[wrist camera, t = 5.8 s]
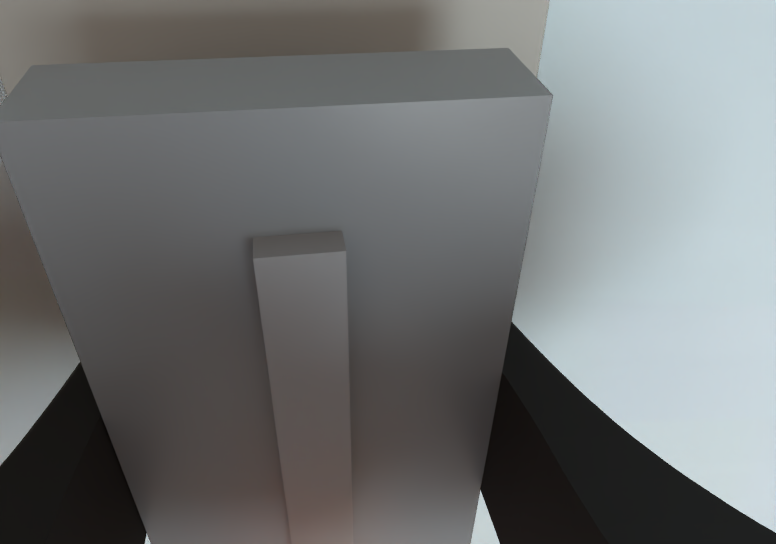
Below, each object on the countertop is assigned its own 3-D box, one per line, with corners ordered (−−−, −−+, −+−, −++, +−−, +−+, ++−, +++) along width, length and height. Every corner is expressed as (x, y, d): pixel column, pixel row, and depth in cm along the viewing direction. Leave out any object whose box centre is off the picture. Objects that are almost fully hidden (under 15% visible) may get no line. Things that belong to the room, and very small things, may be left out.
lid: (437, 510, 15) (465, 619, 13) (196, 543, 14) (188, 665, 12) (494, 32, 8) (567, 110, 6) (45, 46, 8) (-27, 141, 6)
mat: (465, 479, 18) (468, 489, 17) (163, 519, 16) (162, 529, 16) (559, -110, 9) (568, -107, 9) (-56, -112, 8) (-66, -108, 8)
